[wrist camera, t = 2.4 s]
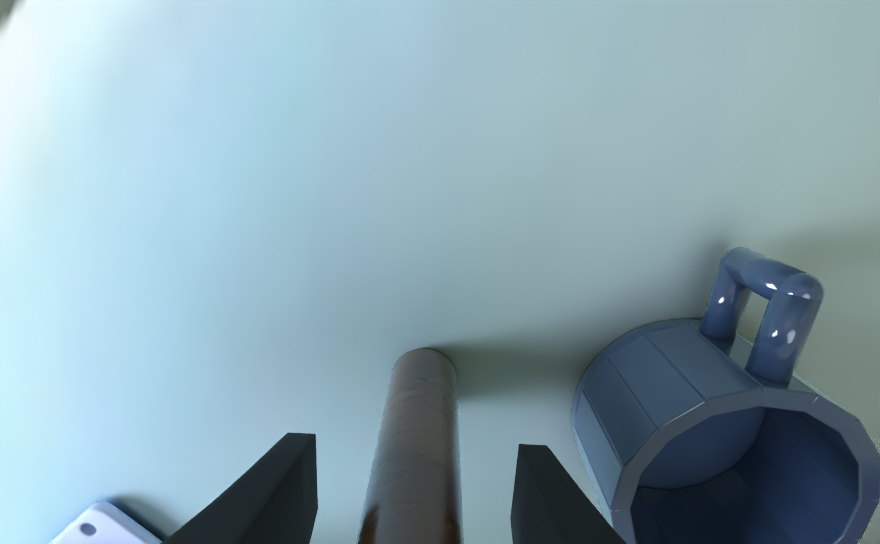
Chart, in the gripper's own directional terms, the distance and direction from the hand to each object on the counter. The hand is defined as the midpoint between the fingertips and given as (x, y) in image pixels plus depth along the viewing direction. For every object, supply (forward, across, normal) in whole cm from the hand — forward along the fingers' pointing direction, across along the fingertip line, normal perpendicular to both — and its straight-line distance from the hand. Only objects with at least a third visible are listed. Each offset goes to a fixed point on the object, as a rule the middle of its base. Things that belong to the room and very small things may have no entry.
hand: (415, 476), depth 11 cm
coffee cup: (+4, -8, -1) cm, 9 cm away
